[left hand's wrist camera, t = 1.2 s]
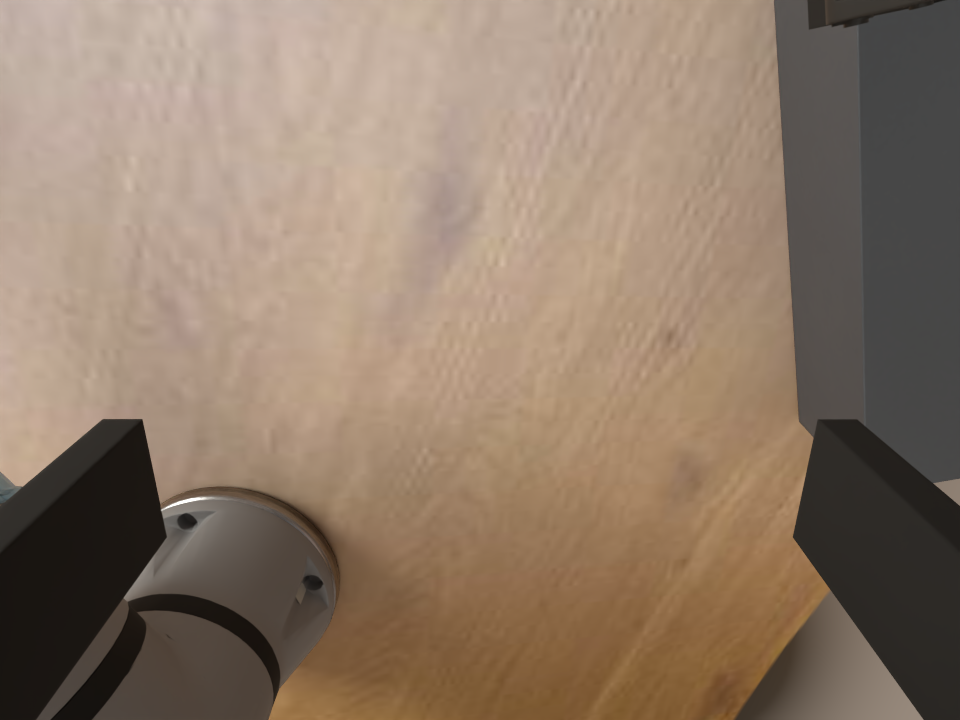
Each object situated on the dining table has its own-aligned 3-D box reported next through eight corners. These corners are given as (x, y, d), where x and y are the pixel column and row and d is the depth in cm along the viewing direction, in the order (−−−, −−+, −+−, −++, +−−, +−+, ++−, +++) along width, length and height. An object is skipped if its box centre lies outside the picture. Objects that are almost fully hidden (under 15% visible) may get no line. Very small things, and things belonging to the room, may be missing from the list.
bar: (890, 404, 42) (978, 475, 35) (798, 421, 43) (865, 495, 35) (889, -118, 32) (1016, -185, 24) (768, -85, 32) (854, -140, 25)
